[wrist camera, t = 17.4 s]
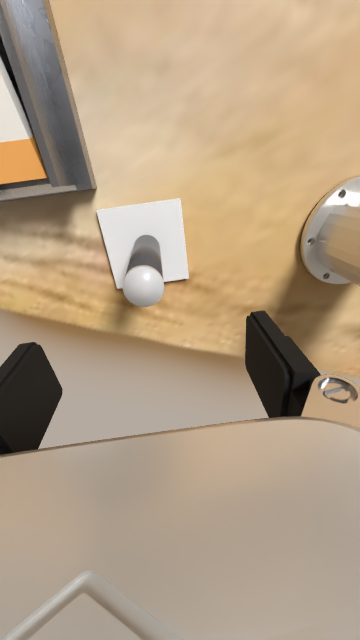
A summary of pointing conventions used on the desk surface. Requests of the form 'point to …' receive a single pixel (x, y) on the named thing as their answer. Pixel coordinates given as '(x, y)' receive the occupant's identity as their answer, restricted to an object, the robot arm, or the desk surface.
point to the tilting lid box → (43, 99)
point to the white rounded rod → (144, 273)
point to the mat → (145, 220)
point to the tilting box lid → (16, 138)
